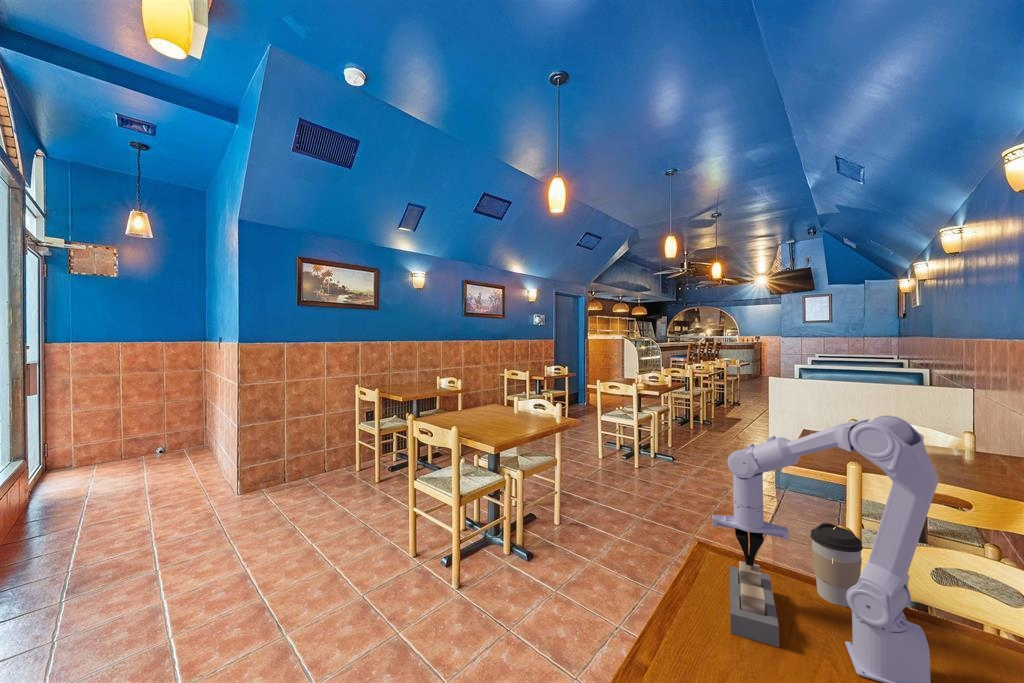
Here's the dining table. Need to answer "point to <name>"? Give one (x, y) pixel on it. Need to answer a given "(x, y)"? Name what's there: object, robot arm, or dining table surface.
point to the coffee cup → (835, 561)
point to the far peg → (750, 574)
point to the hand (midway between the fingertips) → (749, 563)
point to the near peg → (752, 599)
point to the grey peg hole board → (749, 622)
